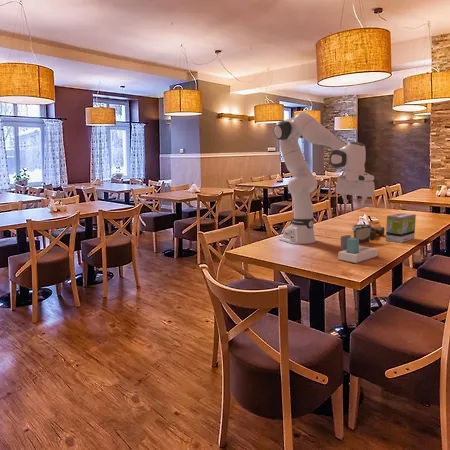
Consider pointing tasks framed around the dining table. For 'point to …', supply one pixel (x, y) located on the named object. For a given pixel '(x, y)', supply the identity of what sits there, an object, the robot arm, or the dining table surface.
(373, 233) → the kendama
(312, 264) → the dining table surface
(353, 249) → the square peg
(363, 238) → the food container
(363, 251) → the socket block
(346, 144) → the robot arm
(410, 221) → the tea box
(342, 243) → the flat tab
